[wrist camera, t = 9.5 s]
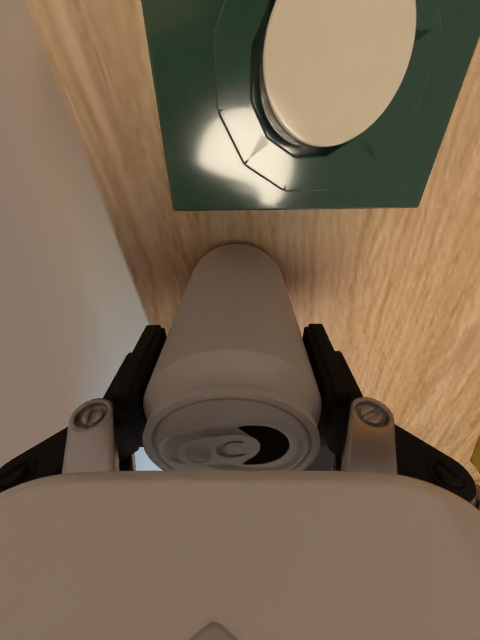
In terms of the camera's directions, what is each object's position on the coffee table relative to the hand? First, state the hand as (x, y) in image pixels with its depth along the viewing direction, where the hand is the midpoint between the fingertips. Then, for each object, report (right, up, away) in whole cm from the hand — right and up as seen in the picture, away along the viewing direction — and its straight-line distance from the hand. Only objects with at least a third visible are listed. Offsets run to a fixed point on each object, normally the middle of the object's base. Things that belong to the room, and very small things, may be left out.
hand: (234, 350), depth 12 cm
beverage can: (0, +4, +6) cm, 7 cm away
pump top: (+3, +10, -4) cm, 11 cm away
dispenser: (+3, +12, 0) cm, 13 cm away
